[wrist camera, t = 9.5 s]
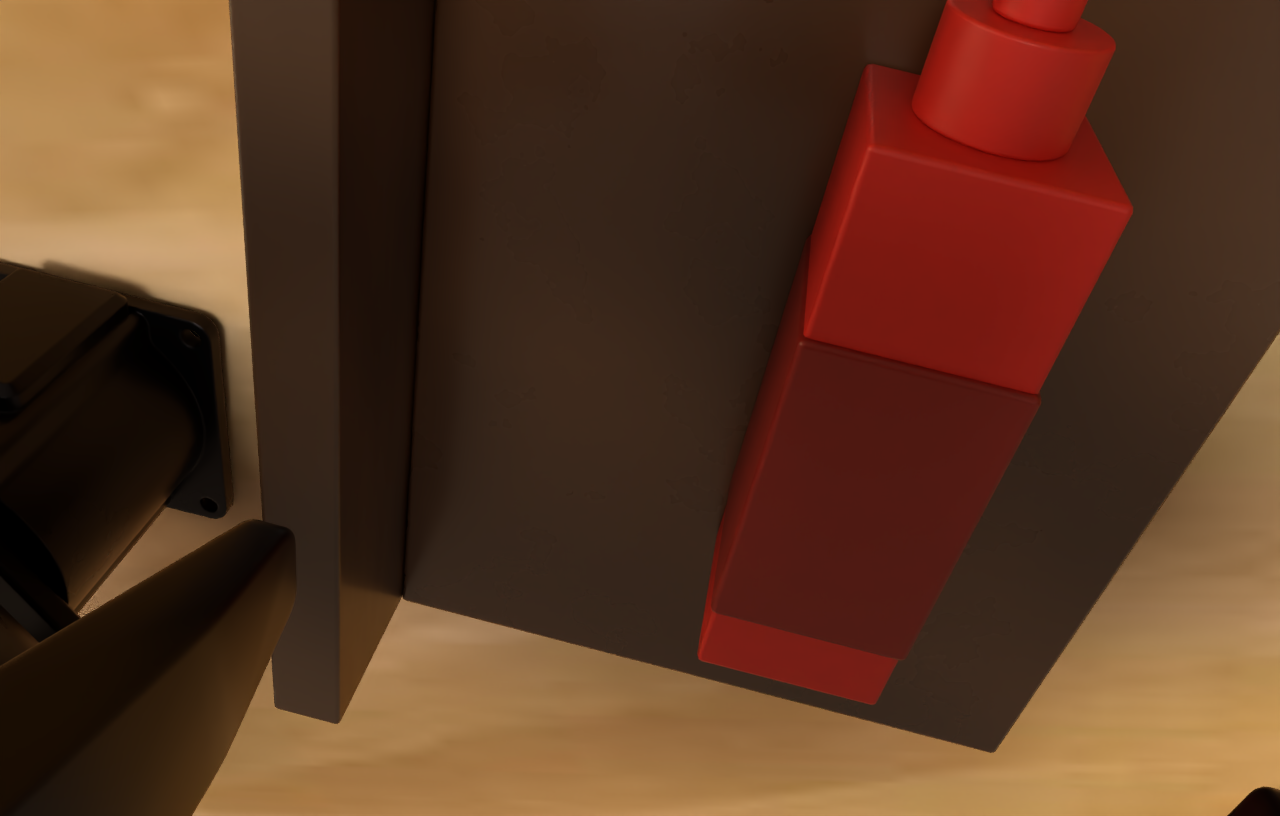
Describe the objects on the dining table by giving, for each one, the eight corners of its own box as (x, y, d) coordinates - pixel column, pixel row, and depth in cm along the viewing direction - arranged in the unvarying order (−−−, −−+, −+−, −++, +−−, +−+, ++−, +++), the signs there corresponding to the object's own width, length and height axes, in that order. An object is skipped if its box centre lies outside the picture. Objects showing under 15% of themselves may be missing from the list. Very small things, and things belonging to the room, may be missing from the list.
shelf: (967, 544, 24) (1013, 905, 17) (441, 410, 25) (273, 709, 18) (1375, -218, 15) (1861, -117, 8) (505, -416, 15) (191, -496, 8)
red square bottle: (875, 577, 18) (879, 714, 15) (713, 535, 18) (691, 666, 15) (1164, -40, 11) (1242, 34, 9) (911, -98, 11) (923, -41, 9)
